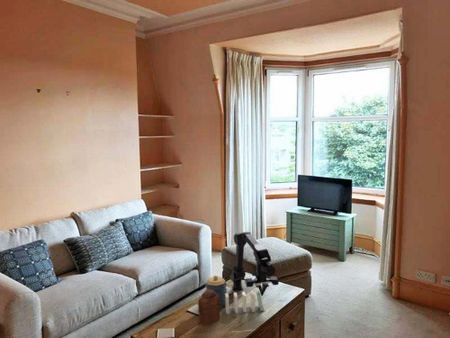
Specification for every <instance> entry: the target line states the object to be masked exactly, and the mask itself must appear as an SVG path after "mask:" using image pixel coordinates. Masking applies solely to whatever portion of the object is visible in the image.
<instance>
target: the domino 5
mask: <svg viewBox="0 0 450 338" xmlns="http://www.w3.org/2000/svg"><path fill="white" fill-rule="evenodd" d="M255 292H256V297H257V298H256V299H257V303H258V306H259V308H260V310H261V311H264V310H265V309H264V310H263V308H264V305H263V300H262V296H261V294H260V291H259V290H256V291H255Z"/></svg>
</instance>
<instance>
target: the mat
mask: <svg viewBox="0 0 450 338" xmlns="http://www.w3.org/2000/svg"><path fill="white" fill-rule="evenodd" d="M263 310H264V311H261V310H260V308H259V305H255V312H252V310H251V306H246V312H243V308H242V306H241V307H238V313H235V311H234V307H229V314H226V308H221V312H222V316H228V315H230V316H232V315H240V314H241V315H243V314H254V313H255V314H256V313H265V312H266V311H265V308H264V307H263Z"/></svg>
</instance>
